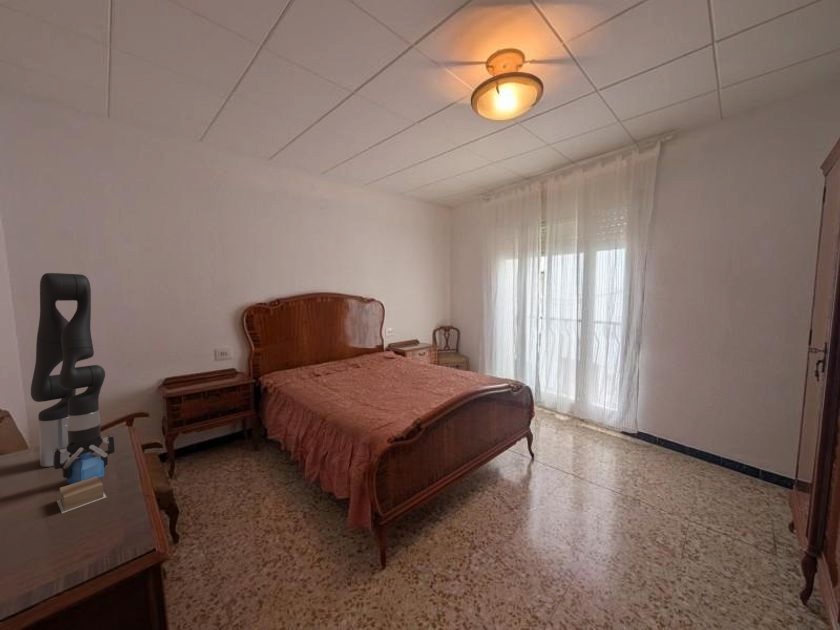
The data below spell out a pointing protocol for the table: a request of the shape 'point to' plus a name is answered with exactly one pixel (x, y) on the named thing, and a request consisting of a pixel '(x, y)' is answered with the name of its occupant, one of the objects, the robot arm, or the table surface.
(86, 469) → the perfume bottle
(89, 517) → the table surface
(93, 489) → the walnut block
